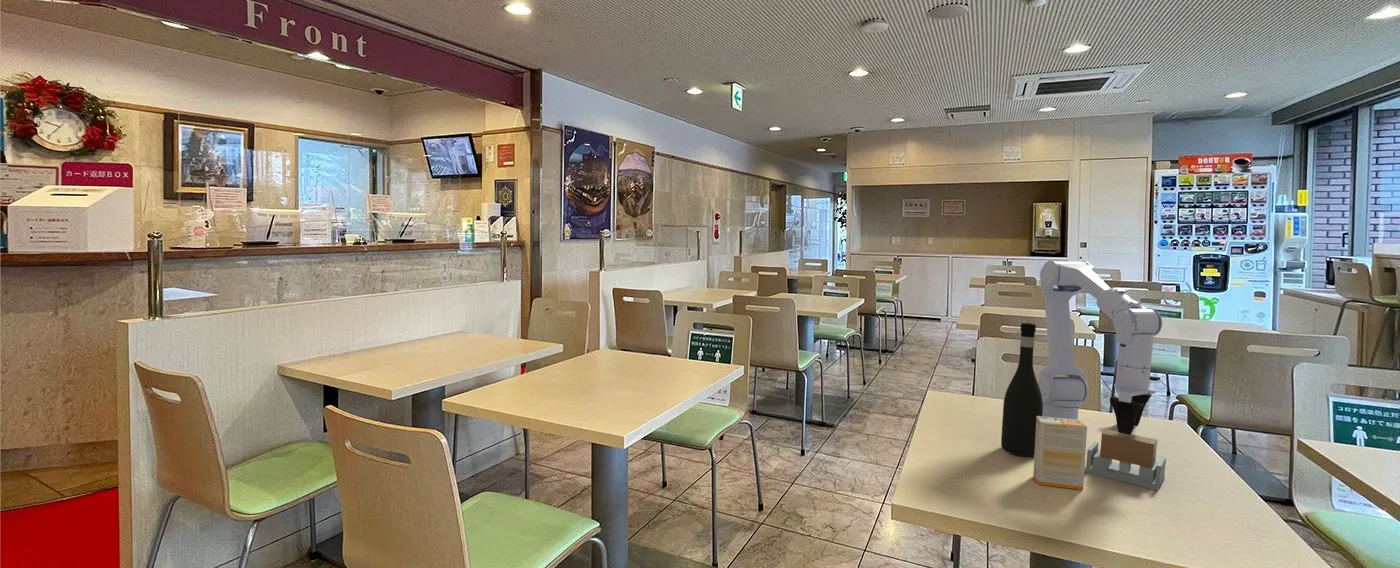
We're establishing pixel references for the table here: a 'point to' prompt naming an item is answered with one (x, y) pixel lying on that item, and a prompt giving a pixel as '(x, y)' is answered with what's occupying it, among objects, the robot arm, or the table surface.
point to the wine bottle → (1022, 401)
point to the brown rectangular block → (1128, 448)
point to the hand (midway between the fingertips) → (1128, 429)
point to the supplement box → (1060, 452)
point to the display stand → (1125, 470)
